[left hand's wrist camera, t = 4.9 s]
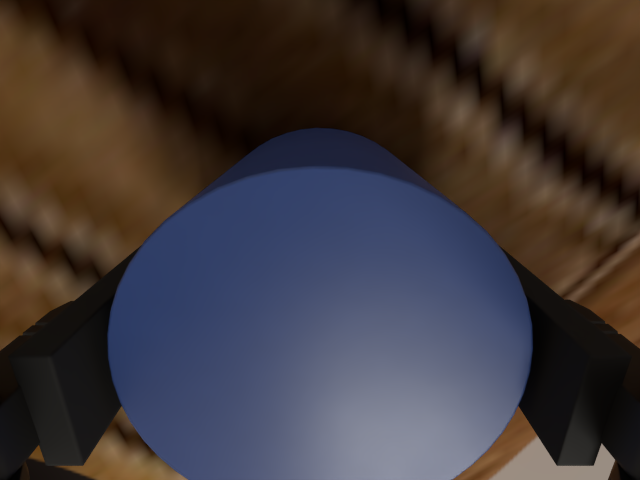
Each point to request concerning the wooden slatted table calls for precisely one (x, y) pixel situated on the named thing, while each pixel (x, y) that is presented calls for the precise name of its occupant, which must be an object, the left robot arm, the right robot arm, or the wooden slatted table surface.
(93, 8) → the wooden slatted table surface
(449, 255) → the cylinder
